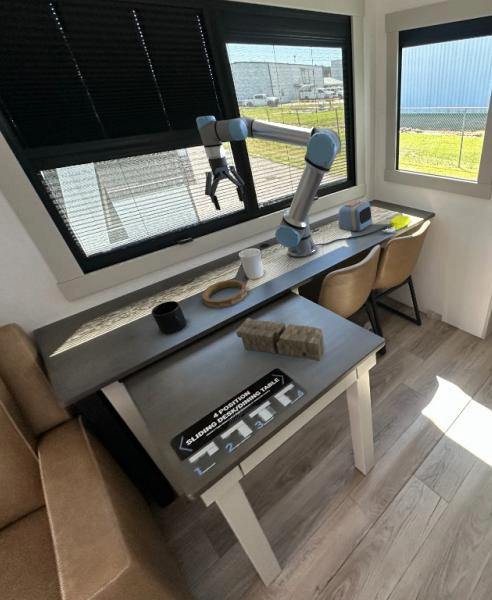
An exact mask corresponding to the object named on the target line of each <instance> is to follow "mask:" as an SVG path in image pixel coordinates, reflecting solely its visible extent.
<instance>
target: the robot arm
mask: <svg viewBox="0 0 492 600" xmlns="http://www.w3.org/2000/svg"><path fill="white" fill-rule="evenodd" d="M195 122H196V125H197V130H198V132H199V135H200V139H201V142H202V145H203V148H204V151H205V155H206V157H207V158H208V159H207V162H208V165H209V168H210V170H211V171H205V188H204V195H205V196H208V197H210V200H211V203H212V204H213V205H214V208H215V210H216V211H221V210H222V209H221V206H220V203H219V199H218V196H217V195H216V192H217V189H218V185H219V183H220V181H223V180H226V179H227V180H229V181H230V182H231V183H232V184H234V185H235V186H236V187H235V189H236V190H235V191H236V193H237V197H238V200H239V202H240V203H244V202H245V198H244V190H243V187H244V185H245V182H244V180H243V178H242V177H241V176H240V174H239V173H238V171H237V169H236V168H235V166H234V165H228V160H227V156H226V153H225V149H224V146H223V142H230V141H243V140H246V139H247V138H250V139H257V140H263V141H268V142H272V143H273V142H274V143H279V144H285V145H291V146H295V147H301V148H306V152H305V155H304V157H303V161H304V162H305V166H304V168H303V171H302V174H301V177H300V179H299V182H298V185H297V188H296V190H295V193H294V196H293V199H292V201H291V204H290V207H289V209H288V210H286V211H284V213H283V216H282V219H281V221H280V223H279V226H278V227H277V228H276V230H275V238H276V241H277V242H278V243H279V244H280V245H281V247H285V248H287V252H288V256H291V257H293V258H305V257H309V256H311V255H313V254H315V253H316V252H317V246H325V245H330V244H332V243H334V242H337V241H343V240H350V239H356V238H361V237H365V236H368V235H371V234H374V233H377V232H379V231H381V230H382V231H383V230H385V229H387V228H388V225H385V226H383V227H381V228H379V229H376V230H374V231H371V232H367V233H364V234H360V235H355V236H349V237H344V238H343V237H342V238H336V239H333V240H331V241H329V242H325V243H316V244H315V242H314V239H313V237H312V233H311V227H310V226H311V225H310V219H309V212H310V210H311V207H312V205H313V203H314V200H315V198H316V196H317V193H318V190H319V188H320V186H321V184H322V180H323V178H324V176H325V174H327V173H329V172H330V171H331V169H332V166H333V164H334V161H335V160H336V157H337V156H338V155H339V154H340V151H341V148H342V140H341V138H340V135H339V134H338V132H336V131H335V130H333V129H332V128H323V127H322V128H320V127H314V126H313V127H311V128H305V127H300V126H294V125H288V124H283V123H277V122H271V121H265V120H260V119H254V118H252V117H249V116H240V117H237V118H232V119H225V120H224V119H223V120H217V119H216V118H215V116H214V115H205V116H198V117H196V120H195ZM230 173H231V174H230Z"/></svg>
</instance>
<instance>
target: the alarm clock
mask: <svg viewBox="0 0 492 600" xmlns="http://www.w3.org/2000/svg"><path fill="white" fill-rule="evenodd" d="M371 208H372V207H371V203H370V202H368V201H361V199H351V200H349V201H346V202H345V204H344V205H343V206H341V207H340V208H339V210H338V227H339V229H343V230H349V231H354V232H362V231H363V230H364V229H367V227H369V226H371V224H373V223H372V222H373V218H372V209H371Z"/></svg>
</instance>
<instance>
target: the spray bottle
mask: <svg viewBox="0 0 492 600" xmlns="http://www.w3.org/2000/svg"><path fill="white" fill-rule="evenodd" d="M410 221H411V217H410V216H408V215H399V214H398V215H395V216H394V217H393V218H392V219H391V220H390V221H389V224H390V226H391V227H390V228H388V227H386V229H382V232H383V233H388V234H396V231H398V230H400V229H403V228H404V227H406V226H407V225H408V224H409V223H410Z"/></svg>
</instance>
